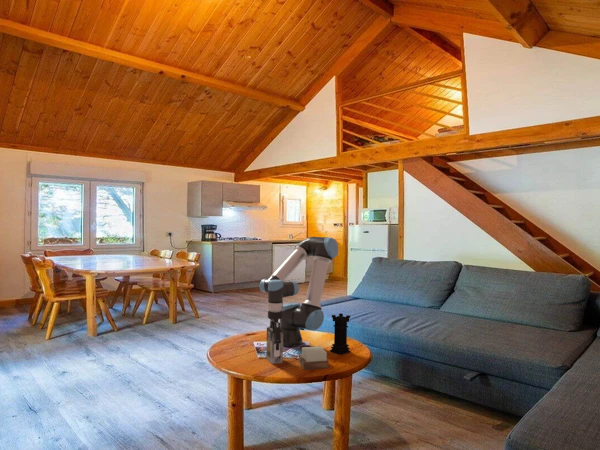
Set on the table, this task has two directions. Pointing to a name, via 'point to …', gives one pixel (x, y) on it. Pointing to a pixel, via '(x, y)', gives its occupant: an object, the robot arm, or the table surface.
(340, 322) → the chess piece
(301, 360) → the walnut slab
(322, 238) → the robot arm
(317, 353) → the sage block
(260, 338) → the table surface
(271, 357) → the coffee box
